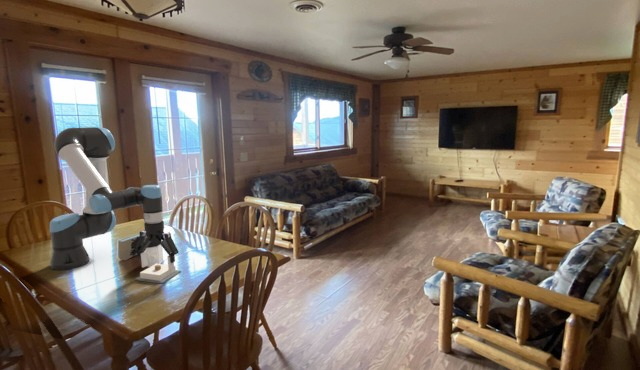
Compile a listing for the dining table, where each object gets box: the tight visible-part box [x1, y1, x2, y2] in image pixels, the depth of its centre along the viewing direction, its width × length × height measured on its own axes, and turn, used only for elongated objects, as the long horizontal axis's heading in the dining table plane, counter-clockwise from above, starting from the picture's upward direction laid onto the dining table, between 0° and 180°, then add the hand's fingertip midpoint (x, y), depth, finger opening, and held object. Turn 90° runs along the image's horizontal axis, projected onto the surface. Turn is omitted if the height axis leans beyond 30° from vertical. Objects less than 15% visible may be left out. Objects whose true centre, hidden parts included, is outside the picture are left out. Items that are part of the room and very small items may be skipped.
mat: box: [134, 269, 182, 285], centre depth 152 cm, size 14×12×1 cm
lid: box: [139, 263, 177, 281], centre depth 152 cm, size 10×10×4 cm
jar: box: [143, 237, 164, 268], centre depth 164 cm, size 9×8×12 cm
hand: (158, 267), depth 151 cm, fingers open, 13 cm apart
